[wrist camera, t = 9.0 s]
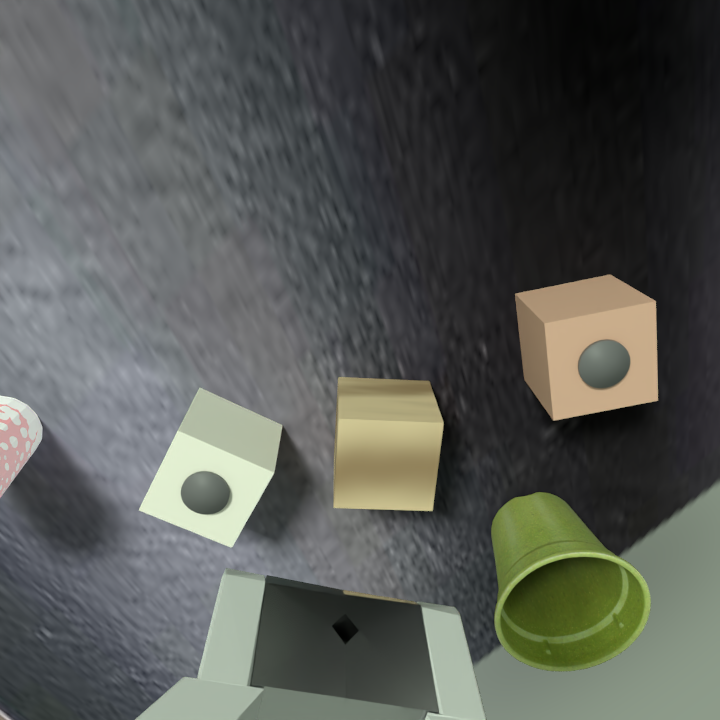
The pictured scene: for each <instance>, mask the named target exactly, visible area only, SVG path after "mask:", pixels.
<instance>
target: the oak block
mask: <svg viewBox="0 0 720 720" xmlns="http://www.w3.org/2000/svg"><path fill="white" fill-rule="evenodd" d="M443 425H444V422H443V419H442V416H441V413H440V411H439V408H438V405H437V402H436V399H435V396H434V393H433V390H432V387H431V385H430V382H429V381H415V380H392V379H370V378H347V377H338V393H337V412H336V430H335V448H334V508H352V509H383V510H414V511H433V504H434V496H435V488H436V480H437V473H438V465H439V457H440V449H441V441H442V433H443Z"/></svg>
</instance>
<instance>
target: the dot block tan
mask: <svg viewBox="0 0 720 720" xmlns="http://www.w3.org/2000/svg"><path fill="white" fill-rule="evenodd" d="M515 298H516V308H517V317H518V326H519V335H520V344H521V353H522V362H523V371H524V380H525V381H526V383H527V384H528V385H529V387H530V388H531V390H532V391H533V393H534V394H535V395H536V397H537V398H538V400H539V401H540V402H541V404H542V405H543V407H544V408H545V410H546V411H547V412H548V414H549V415H550V417H551V418H552V419H553V421H555V420H560V419H565V418H570V417H576V416H581V415H586V414H591V413H596V412H601V411H607V410H612V409H617V408H622V407H627V406H633V405H638V404H643V403H648V402H653V401H658V378H657V332H656V301H655V300H653V299H651V298H649V297H648V296H646V295H644V294H643V293H641V292H639V291H637V290H636V289H634V288H632V287H631V286H629V285H627V284H626V283H624V282H622V281H620V280H619V279H617V278H615V277H614V276H612V275H606V276H601V277H596V278H591V279H586V280H581V281H576V282H571V283H566V284H561V285H556V286H551V287H546V288H541V289H536V290H532V291H527V292H522V293H517V294H515Z"/></svg>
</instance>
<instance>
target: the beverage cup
mask: <svg viewBox="0 0 720 720" xmlns="http://www.w3.org/2000/svg"><path fill="white" fill-rule="evenodd" d="M42 428H43V427H42V425H41V423H40V420H39V418H38V415H37V414H36V413H35V412H34V411H33V410H32V409H31V408H30V407H29V406H28V405H26V404H24V403H23V402H21V401H19V400H17V399H15V398H10V397H5V396H0V497H1V496H2V495H3V493H4V492H5V491H6V489H7V488H8V487H9V485H10V484H11V482H12V481H13V480H14V478H15V477H16V476H17V474H18V473H19V472H20V470H21V469H22V468H23V466H24V465H25V464H26V462H27V461H28V460H29V458H30V457H31V455H32V454H33V453H34V451H35V450H36V449H37V447H38V445H39V444H40V442H41V440H42Z"/></svg>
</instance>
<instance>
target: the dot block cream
mask: <svg viewBox="0 0 720 720" xmlns="http://www.w3.org/2000/svg"><path fill="white" fill-rule="evenodd" d="M282 426H283V425H281V424H279V423H276V422H274V421H272V420H270V419H268V418H265V417H263V416H261V415H259V414H257V413H254V412H252V411H250V410H248V409H246V408H243V407H241V406H239V405H237V404H235V403H232V402H230V401H228V400H226V399H224V398H221V397H219V396H217V395H215V394H213V393H210V392H208V391H206V390H204V389H202V388H199V390H198V392H197V394H196V396H195V398H194V400H193V402H192V404H191V406H190V408H189V410H188V412H187V414H186V416H185V418H184V419H183V421H182V423H181V425H180V427H179V429H178V431H177V433H176V436H175V438H174V440H173V442H172V444H171V446H170V448H169V450H168V452H167V454H166V456H165V458H164V460H163V462H162V464H161V466H160V468H159V470H158V472H157V474H156V476H155V478H154V480H153V482H152V484H151V486H150V488H149V490H148V492H147V494H146V496H145V499H144V501H143V503H142V505H141V507H140V509H139V511H142V512H144V513H147V514H149V515H152V516H154V517H157V518H159V519H162V520H164V521H167V522H169V523H172V524H174V525H177V526H179V527H182V528H184V529H187V530H189V531H192V532H194V533H197V534H199V535H201V536H204V537H206V538H209V539H211V540H214V541H216V542H219V543H221V544H224V545H226V546H229V547H231V548H232V546H233V545H234V543H235V541H236V539H237V538H238V536H239V534H240V532H241V531H242V529H243V527H244V525H245V524H246V522H247V520H248V518H249V517H250V515H251V513H252V511H253V510H254V508H255V506H256V504H257V502H258V501H259V499H260V497H261V495H262V494H263V492H264V490H265V488H266V487H267V485H268V483H269V481H270V480H271V478H272V476H273V474H274V472H275V466H276V461H277V455H278V449H279V443H280V438H281V432H282Z"/></svg>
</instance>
